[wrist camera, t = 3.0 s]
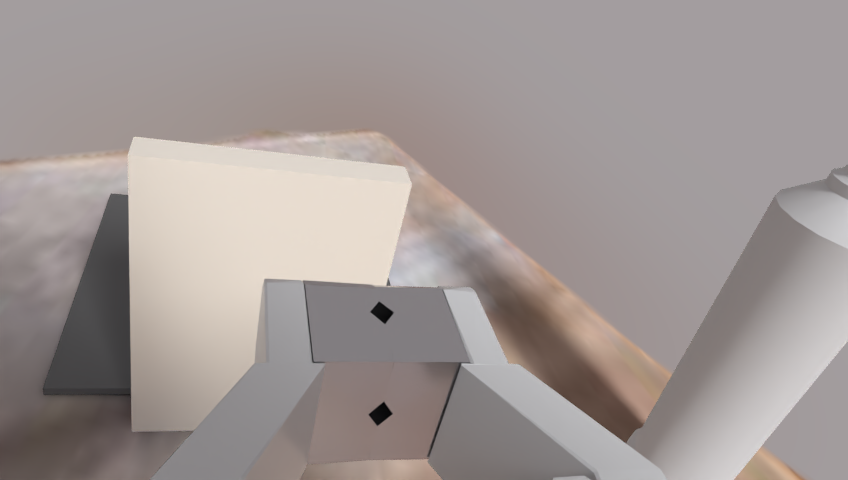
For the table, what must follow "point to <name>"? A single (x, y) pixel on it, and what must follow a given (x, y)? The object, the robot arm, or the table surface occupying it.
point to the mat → (99, 316)
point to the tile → (237, 258)
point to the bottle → (758, 339)
